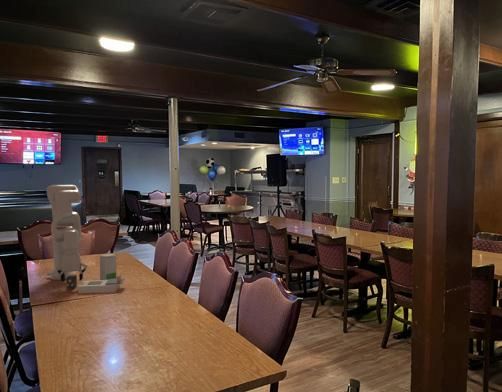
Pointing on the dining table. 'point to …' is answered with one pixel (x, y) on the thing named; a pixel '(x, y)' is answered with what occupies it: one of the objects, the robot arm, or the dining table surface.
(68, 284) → the plug
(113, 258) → the skincare box
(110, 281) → the shutter
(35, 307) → the dining table surface
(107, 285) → the socket block
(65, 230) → the robot arm
